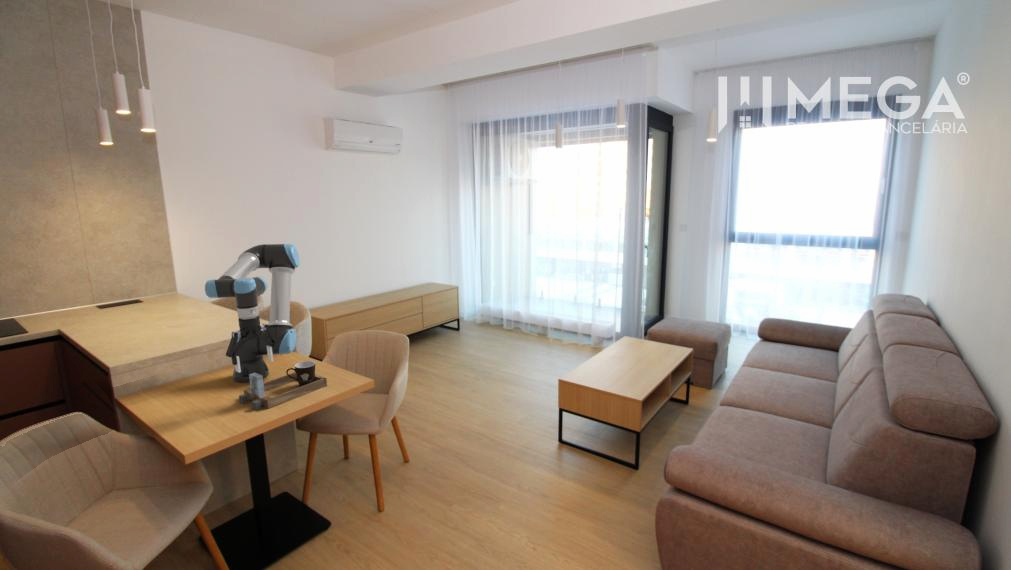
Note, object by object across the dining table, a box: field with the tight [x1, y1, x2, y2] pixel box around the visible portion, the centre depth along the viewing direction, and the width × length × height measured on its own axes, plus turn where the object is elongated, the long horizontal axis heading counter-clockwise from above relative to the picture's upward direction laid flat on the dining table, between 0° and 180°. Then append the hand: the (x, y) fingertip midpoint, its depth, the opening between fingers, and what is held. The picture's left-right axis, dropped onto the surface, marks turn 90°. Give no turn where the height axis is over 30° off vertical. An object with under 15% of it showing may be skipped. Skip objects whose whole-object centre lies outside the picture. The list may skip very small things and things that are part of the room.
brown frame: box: [243, 371, 328, 409], centre depth 208 cm, size 18×28×12 cm
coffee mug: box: [286, 360, 316, 388], centre depth 215 cm, size 12×9×10 cm
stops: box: [238, 393, 262, 411], centre depth 196 cm, size 13×2×3 cm, turn 56°
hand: (255, 366), depth 196 cm, fingers open, 13 cm apart
